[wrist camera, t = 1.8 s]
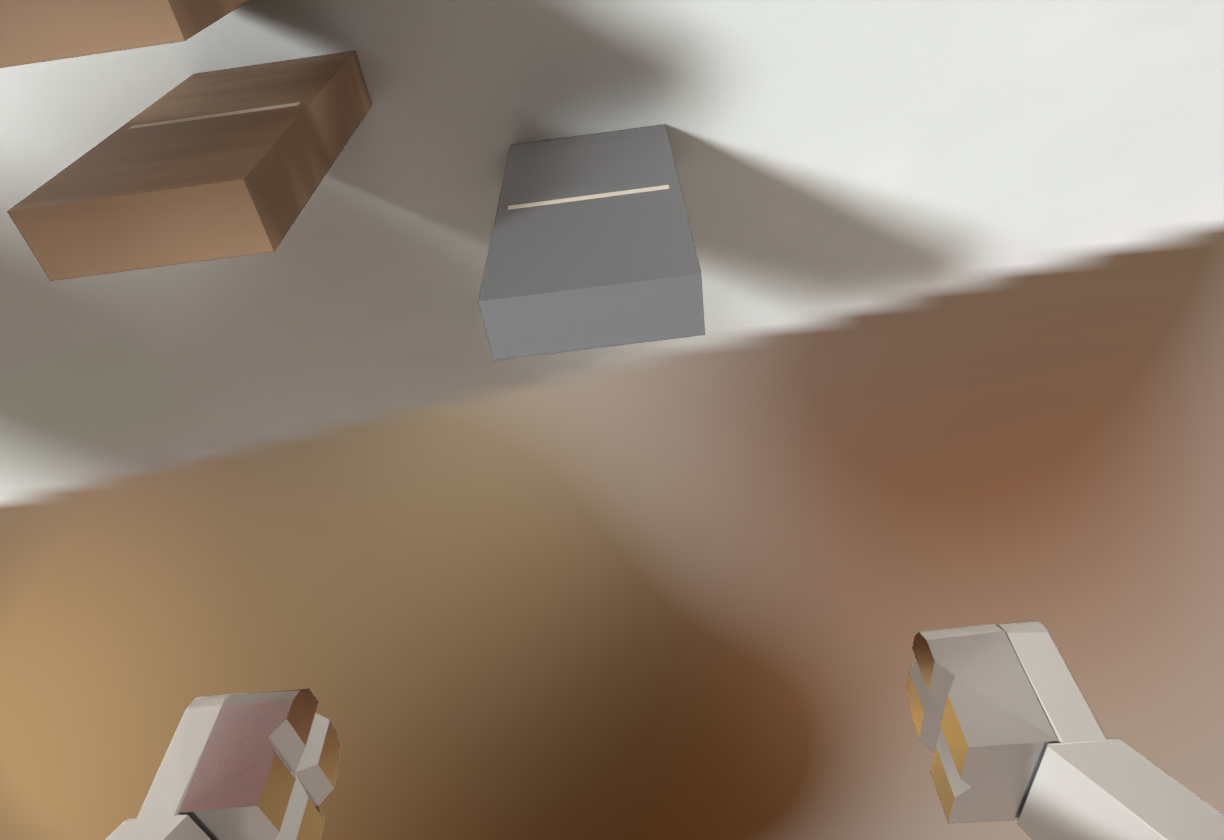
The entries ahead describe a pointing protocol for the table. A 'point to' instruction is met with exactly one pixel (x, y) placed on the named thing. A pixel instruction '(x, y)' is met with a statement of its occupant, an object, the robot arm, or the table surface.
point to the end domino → (590, 247)
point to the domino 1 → (98, 26)
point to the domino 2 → (199, 170)
